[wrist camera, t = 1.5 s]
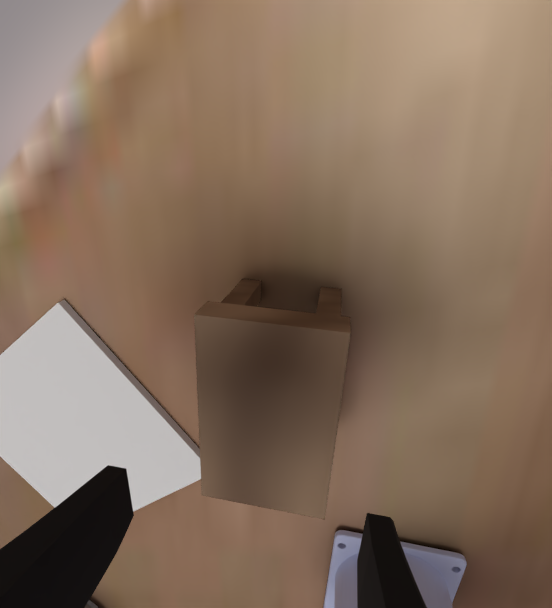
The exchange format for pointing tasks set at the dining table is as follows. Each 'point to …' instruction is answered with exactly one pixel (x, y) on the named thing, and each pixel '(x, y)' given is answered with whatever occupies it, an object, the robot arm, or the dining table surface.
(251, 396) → the stool
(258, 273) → the dining table surface
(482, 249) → the dining table surface
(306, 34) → the dining table surface
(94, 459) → the mat
